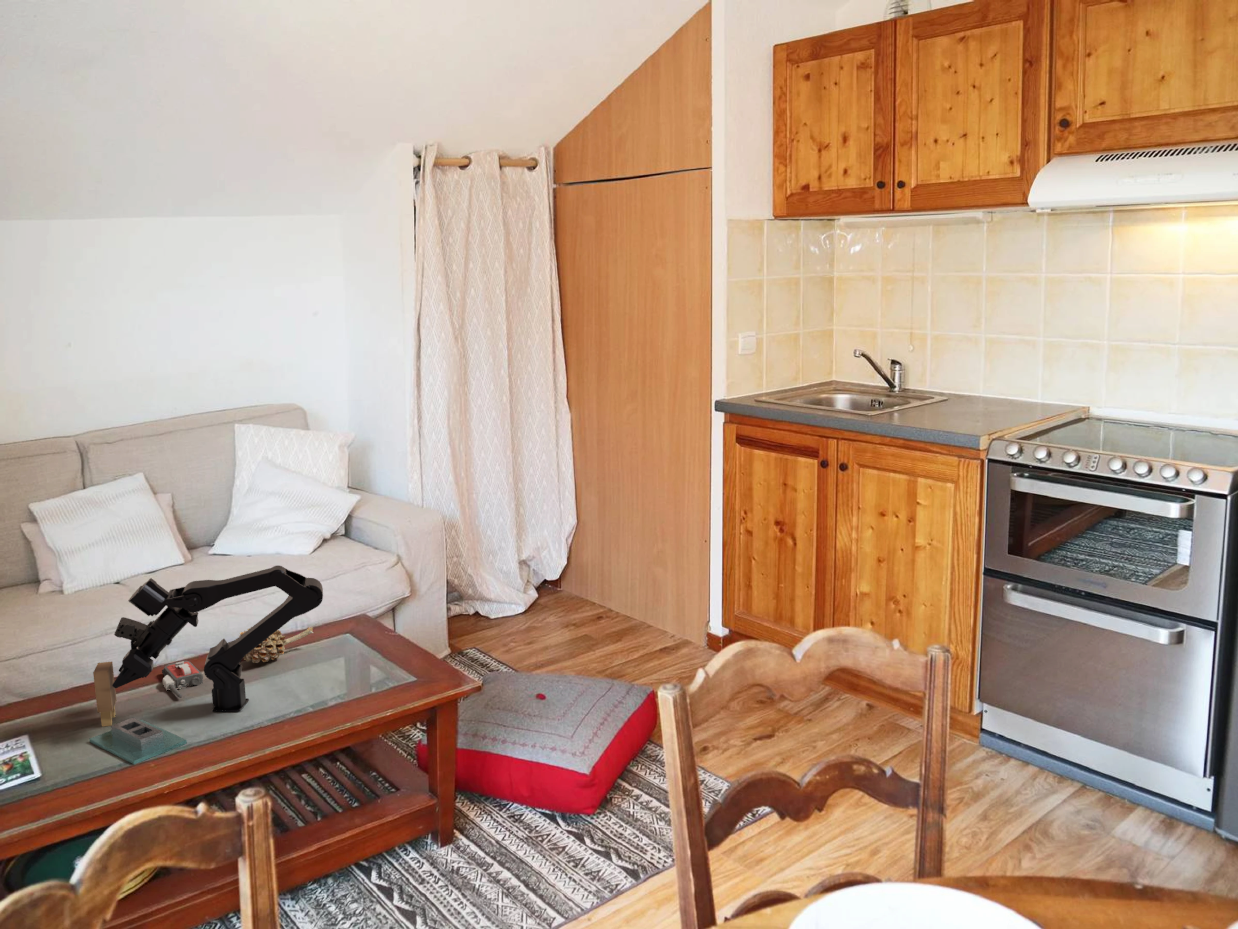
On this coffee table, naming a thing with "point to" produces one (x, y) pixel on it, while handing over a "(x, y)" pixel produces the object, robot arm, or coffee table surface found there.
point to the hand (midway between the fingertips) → (117, 679)
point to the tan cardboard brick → (105, 692)
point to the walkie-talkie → (181, 676)
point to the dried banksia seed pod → (272, 646)
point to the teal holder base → (137, 740)
